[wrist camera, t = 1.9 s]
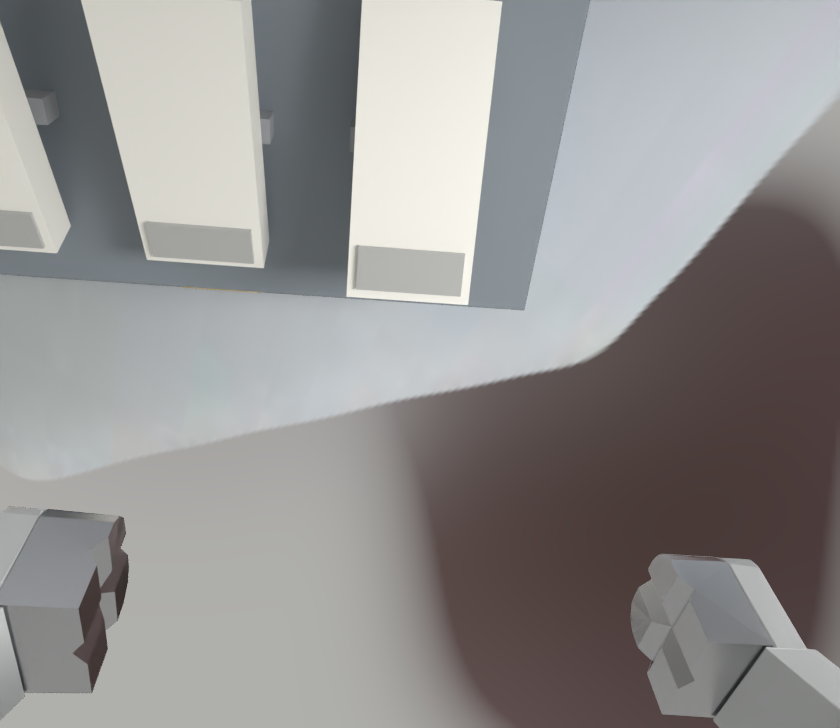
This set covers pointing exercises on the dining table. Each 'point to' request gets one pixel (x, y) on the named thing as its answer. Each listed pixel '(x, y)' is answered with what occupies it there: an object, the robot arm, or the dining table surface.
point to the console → (294, 148)
